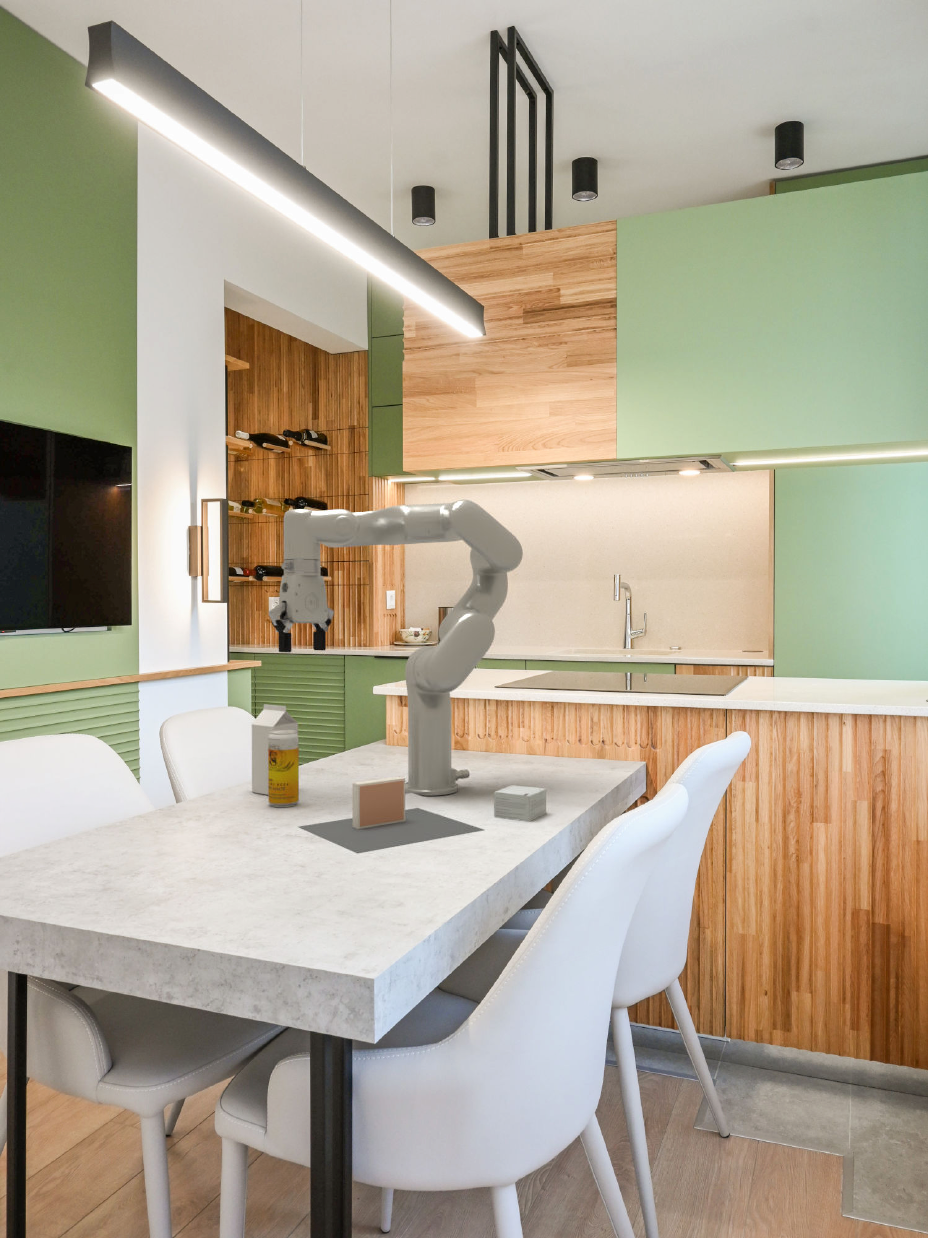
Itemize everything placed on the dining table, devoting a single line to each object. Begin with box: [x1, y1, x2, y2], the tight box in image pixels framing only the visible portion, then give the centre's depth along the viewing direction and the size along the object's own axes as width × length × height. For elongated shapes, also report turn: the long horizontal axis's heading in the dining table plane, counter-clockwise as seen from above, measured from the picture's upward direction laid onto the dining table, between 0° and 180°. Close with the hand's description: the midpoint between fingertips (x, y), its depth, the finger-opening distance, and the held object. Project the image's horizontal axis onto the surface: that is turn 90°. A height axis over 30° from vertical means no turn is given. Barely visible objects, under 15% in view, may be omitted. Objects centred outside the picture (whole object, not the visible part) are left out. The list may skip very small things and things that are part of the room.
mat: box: [298, 807, 485, 854], centre depth 164 cm, size 26×22×1 cm
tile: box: [351, 776, 406, 829], centre depth 167 cm, size 10×2×8 cm, turn 126°
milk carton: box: [251, 703, 299, 795], centre depth 199 cm, size 7×7×19 cm
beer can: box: [267, 730, 300, 808], centre depth 186 cm, size 6×6×15 cm
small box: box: [493, 784, 547, 822], centre depth 177 cm, size 8×8×5 cm
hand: (302, 651), depth 190 cm, fingers open, 9 cm apart
